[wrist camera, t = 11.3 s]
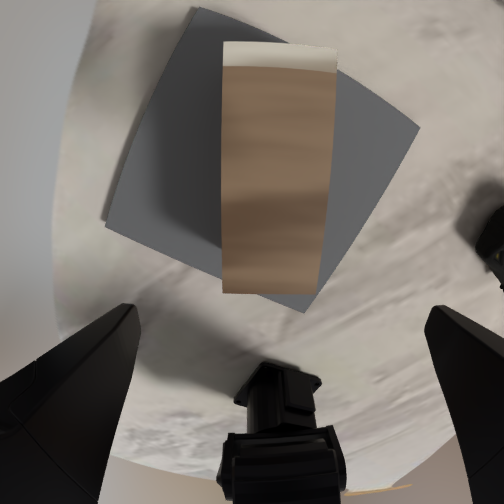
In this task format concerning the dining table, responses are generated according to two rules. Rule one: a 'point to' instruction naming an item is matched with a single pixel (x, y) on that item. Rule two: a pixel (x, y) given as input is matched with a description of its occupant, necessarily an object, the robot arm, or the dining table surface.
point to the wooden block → (275, 164)
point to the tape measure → (493, 245)
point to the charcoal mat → (209, 158)
